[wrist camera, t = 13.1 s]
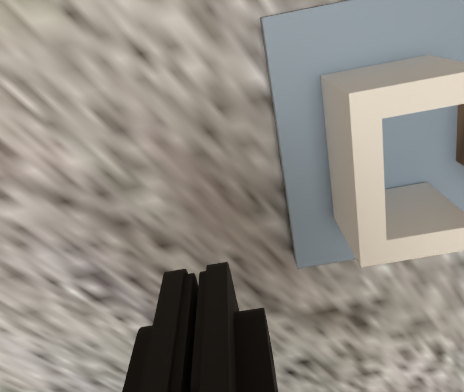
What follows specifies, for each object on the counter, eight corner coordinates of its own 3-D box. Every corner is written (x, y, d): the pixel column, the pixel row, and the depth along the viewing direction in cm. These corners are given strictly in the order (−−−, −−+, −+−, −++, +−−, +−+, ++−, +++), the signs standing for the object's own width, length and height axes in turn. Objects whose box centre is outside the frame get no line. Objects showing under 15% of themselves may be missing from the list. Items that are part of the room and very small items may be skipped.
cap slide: (427, 201, 23) (477, 248, 19) (334, 217, 23) (360, 267, 19) (428, 54, 20) (488, 67, 15) (320, 75, 20) (348, 93, 16)
